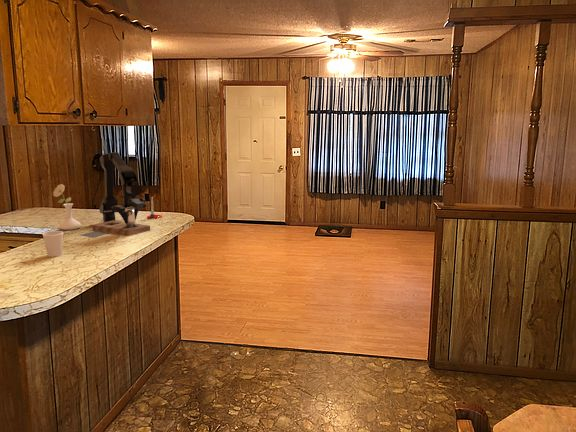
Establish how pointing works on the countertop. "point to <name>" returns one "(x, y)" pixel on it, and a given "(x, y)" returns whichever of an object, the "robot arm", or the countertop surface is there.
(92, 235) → the rubber mat
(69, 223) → the flower in vase
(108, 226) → the hole block
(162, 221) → the countertop surface
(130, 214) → the steel peg
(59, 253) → the dixie cup
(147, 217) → the tow hook
